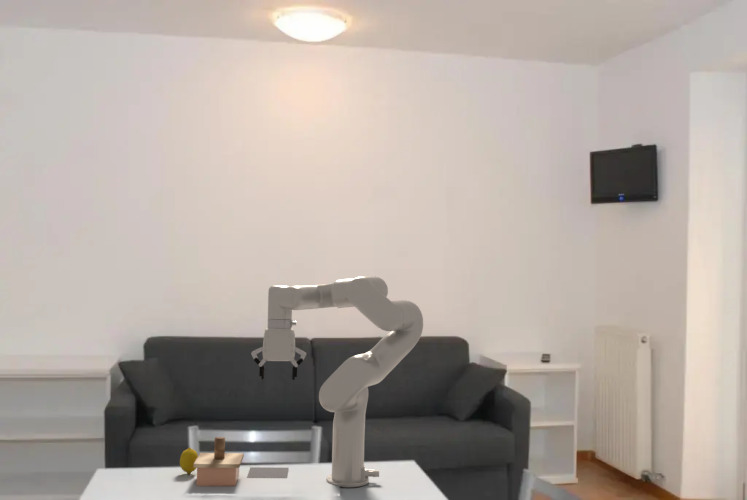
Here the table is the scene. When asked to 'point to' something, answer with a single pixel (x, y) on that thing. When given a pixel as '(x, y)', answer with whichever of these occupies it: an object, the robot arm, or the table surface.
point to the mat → (267, 472)
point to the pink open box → (217, 476)
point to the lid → (219, 457)
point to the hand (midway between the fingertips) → (278, 379)
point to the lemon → (188, 460)
